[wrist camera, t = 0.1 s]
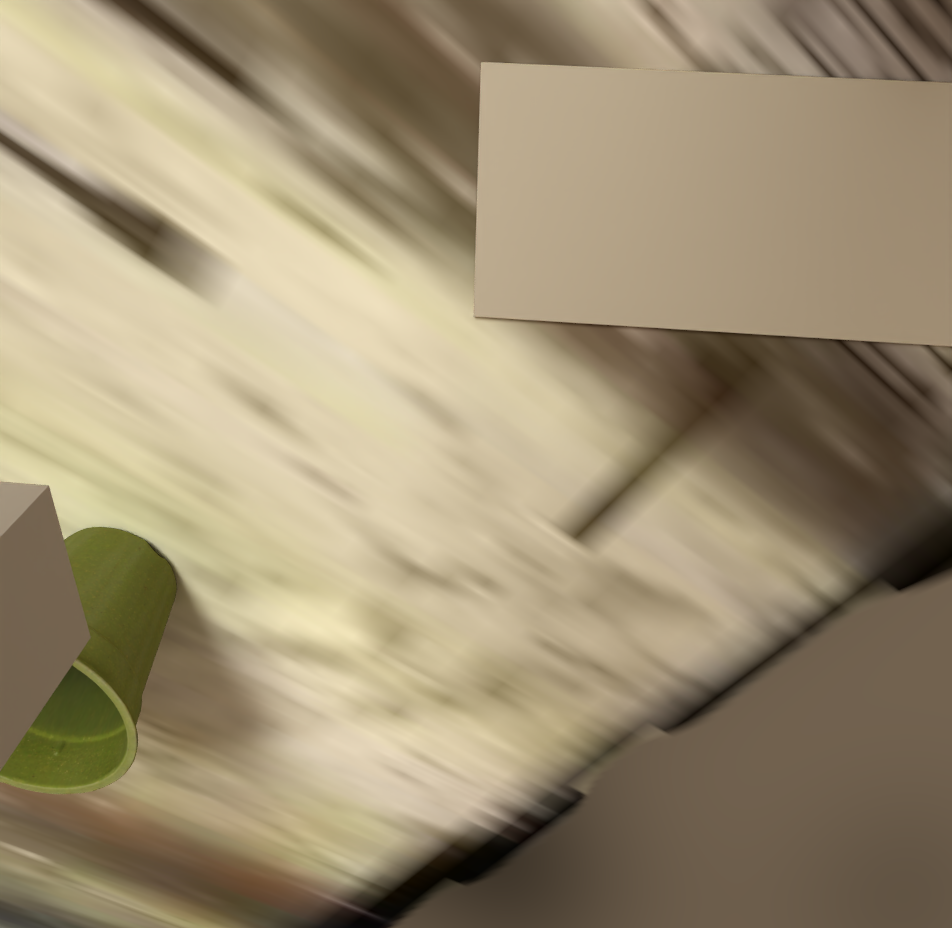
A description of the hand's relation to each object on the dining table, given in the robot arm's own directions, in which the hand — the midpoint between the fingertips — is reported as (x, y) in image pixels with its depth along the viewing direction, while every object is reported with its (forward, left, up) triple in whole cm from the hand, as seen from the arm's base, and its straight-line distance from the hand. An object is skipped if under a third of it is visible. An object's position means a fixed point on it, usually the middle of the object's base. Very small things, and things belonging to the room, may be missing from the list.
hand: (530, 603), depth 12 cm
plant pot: (+26, -24, -30) cm, 46 cm away
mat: (+2, +9, -29) cm, 31 cm away
